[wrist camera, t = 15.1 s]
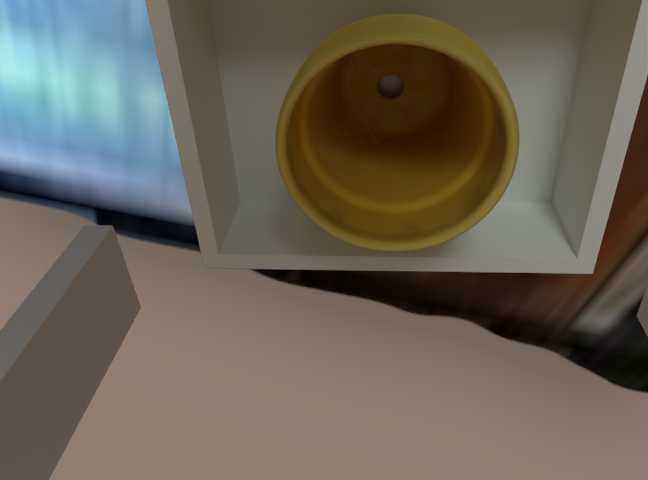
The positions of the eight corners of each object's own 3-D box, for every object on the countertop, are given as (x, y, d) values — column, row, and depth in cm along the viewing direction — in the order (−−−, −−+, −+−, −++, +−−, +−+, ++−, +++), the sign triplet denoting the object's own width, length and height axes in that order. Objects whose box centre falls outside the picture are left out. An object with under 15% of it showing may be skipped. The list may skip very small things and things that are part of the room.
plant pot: (328, 177, 35) (311, 270, 27) (279, 11, 30) (239, 67, 22) (495, 144, 33) (529, 235, 25) (474, -43, 28) (510, -3, 20)
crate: (179, -94, 28) (127, -82, 23) (630, -120, 26) (699, -114, 20) (231, 207, 39) (204, 268, 33) (560, 207, 36) (592, 273, 30)
